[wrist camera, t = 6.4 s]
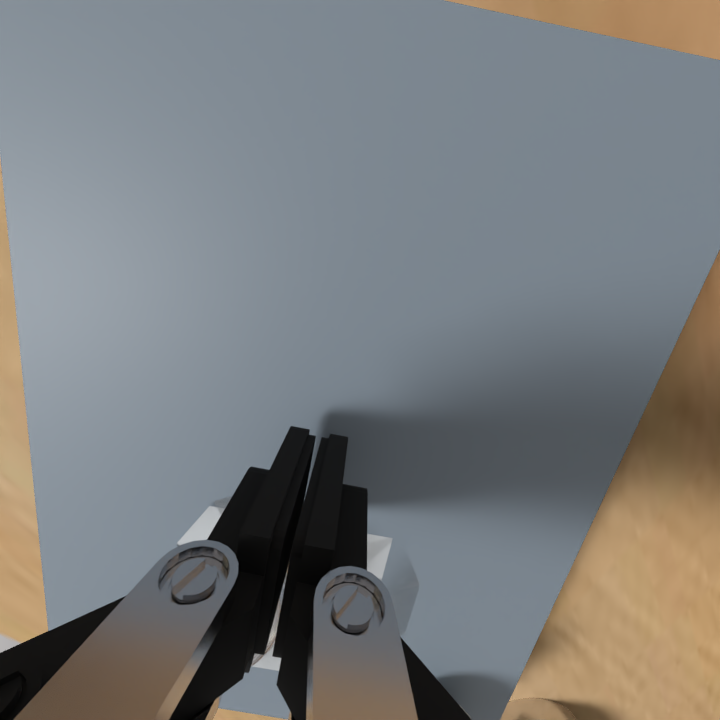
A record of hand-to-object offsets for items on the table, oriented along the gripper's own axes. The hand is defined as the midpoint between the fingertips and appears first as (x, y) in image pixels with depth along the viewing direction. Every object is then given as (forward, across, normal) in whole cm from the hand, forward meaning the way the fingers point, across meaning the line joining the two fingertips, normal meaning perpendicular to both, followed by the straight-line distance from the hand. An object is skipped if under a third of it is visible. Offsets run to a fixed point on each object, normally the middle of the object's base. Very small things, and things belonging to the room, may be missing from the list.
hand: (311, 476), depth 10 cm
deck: (+3, 0, 0) cm, 3 cm away
